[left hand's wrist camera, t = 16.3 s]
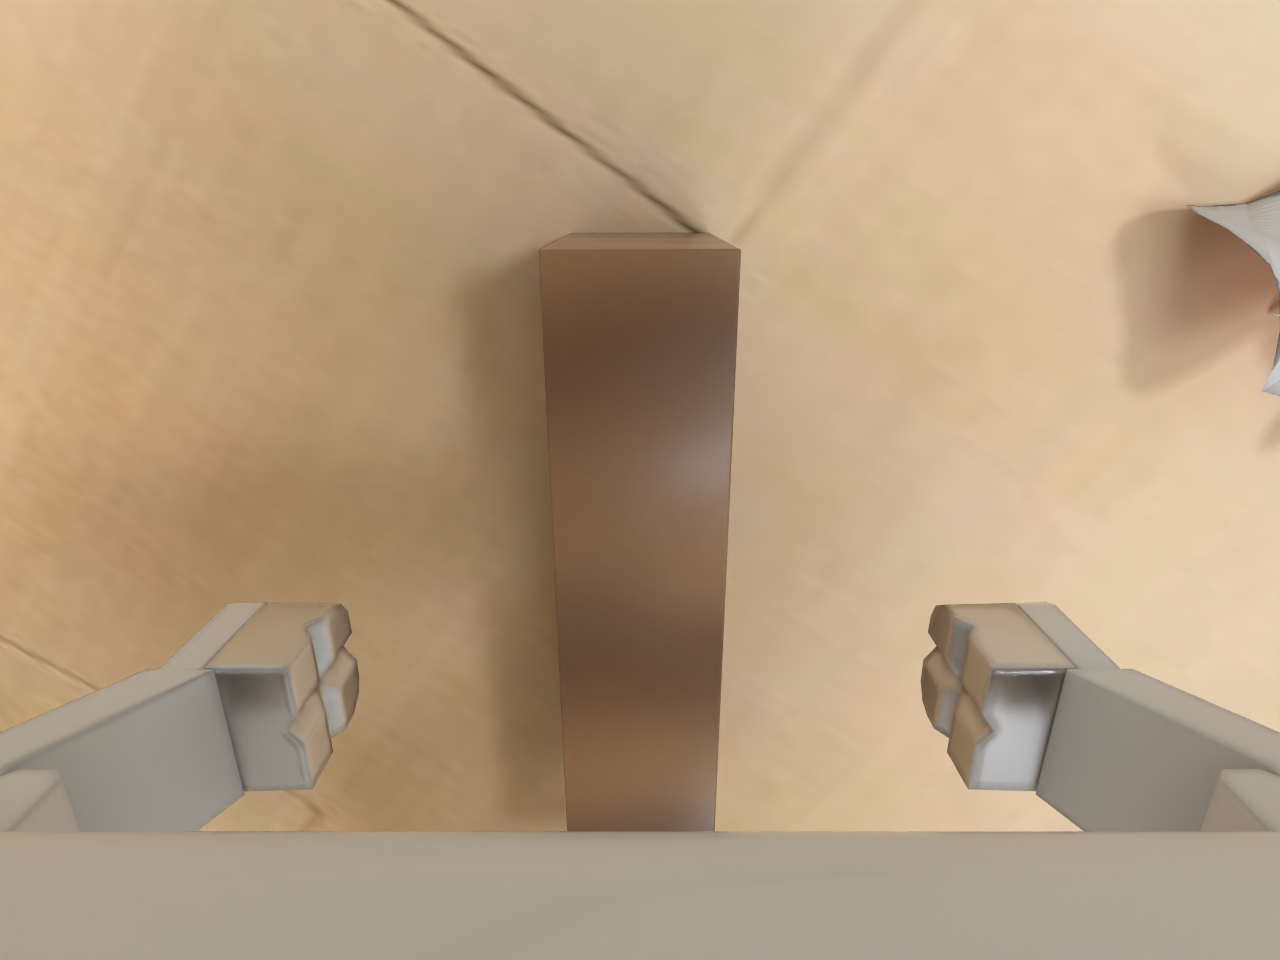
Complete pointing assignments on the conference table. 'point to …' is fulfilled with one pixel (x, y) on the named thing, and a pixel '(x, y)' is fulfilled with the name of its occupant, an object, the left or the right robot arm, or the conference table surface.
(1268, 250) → the fish
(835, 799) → the conference table surface
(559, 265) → the box
